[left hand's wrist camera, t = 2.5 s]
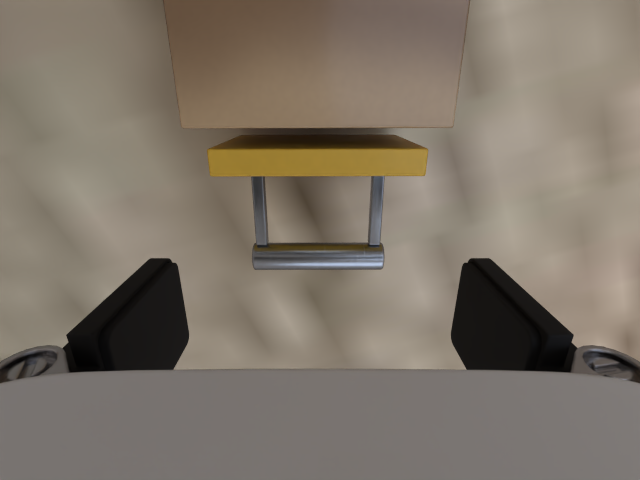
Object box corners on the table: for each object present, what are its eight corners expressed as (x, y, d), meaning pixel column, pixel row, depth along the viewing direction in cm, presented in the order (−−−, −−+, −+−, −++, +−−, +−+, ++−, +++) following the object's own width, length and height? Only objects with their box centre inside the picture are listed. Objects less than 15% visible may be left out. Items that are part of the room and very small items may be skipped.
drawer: (387, 238, 24) (413, 288, 17) (249, 238, 24) (223, 288, 17) (427, -291, 15) (511, -594, 8) (205, -291, 15) (117, -593, 8)
